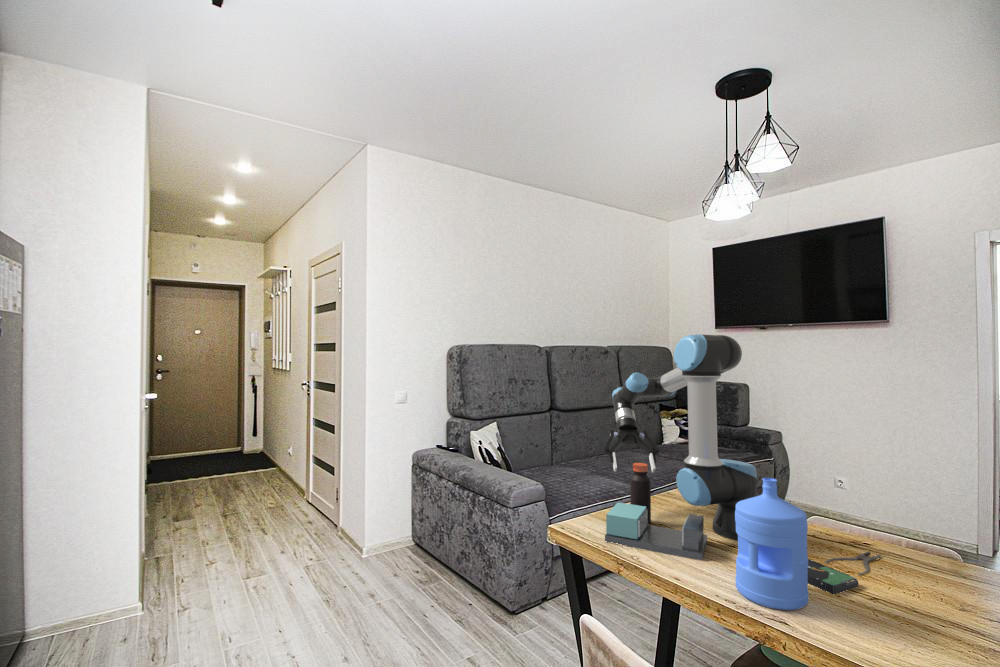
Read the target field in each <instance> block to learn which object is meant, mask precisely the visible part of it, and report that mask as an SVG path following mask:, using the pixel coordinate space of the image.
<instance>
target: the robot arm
mask: <svg viewBox="0 0 1000 667" xmlns="http://www.w3.org/2000/svg"><path fill="white" fill-rule="evenodd" d="M742 356H743V351H742V348H741V345H740V343H739V342H738V341H737V340H735V338H733V337H731V336H728V335H723V334H718V335H717V334H698V333H697V334H689V335H684V336H683V337H682V338H680V340H679V342H677V344H676V345H675V348H674V351H673V360H674V363H675V365H676V368H674V369H672V370H669V372H666V373H664V374H662V375H660V376H658V377H647V376H646V375H645V374H644V373H640V372H633V373H632V374H631V375H629V377H628V378H627V379H626V381H625V383H624V384H623V385H622V386H619V387H617V388H616V389H614V390H613V391H612V393H611V394H612V404H613V410H614V415H615V423H616V429H617V432H616V431H614V430H613V429H612V430H610V434H609V438H608V440H607V442H606V444H605V447H604V449H603V454H604V455H608V458H609V463H610V464H611V463H612V468H613V472H614V473H616V472H617V470H618V465H617V458H616V452H617V450H618V449H619V448H620V447H621V445H623V444H625V445H627V444H628V445H629V444H631V445H634V444H635V445H636V446H638V447H640V448H641V449H642V450H643V451H644V452H645V453H647V454H648V455H649V456H648V458H649V459H648V460H649V465H650V469H651V473H652V474H653V473H655V472H656V463H657V457H656V456H659V455H660V448H659V447H657V445H656V443H655V442H654V441H653V440H652V439H651V438H650V436H649V435H648V432H647V431H646V430H644V431H643V432H639V429H638V424H637V420H636V419H637V418H636V414H635V409H634V405H635V403H636V402H638V399H639V398H651V397H653V398H655V397H656V398H657V397H663V398H665V397H672V396H674V395H675V394H676V393H677V391H678V390H680V389H682V388H684V387H686V388H687V422H688V423H687V424H688V426H687V427H688V428H687V429H688V431H687V432H688V434H687V435H688V456H686V457H685V459H684V460H683V468H681V469H680V470H678V473H677V474H676V478H675V479H676V480H675V481H676V486H677V489H678V492H679V494H680V495H681V497H682V498H683V499H684V500H685V501H686V502H687V503H688V504H689V505H691V506H695V507H701V506H703V507H707V506H713V505H717V508H716V511H715V513H714V516H713V519H712V522H711V523H712V526H711V527H712V531H713V532H714V533H715V534H717V535H718V536H721V537H724V538H727V539H731V540H736V541H738V534H737V533H736V522H735V510H736V504H737V503H738V502H739V501H742V500H745V499H749V498H752V497H756V496H758V475H757V468H756V467H755V466H754V465H753V464H751V463H748V462H746V461H745V462H744V461H739V460H734V459H728V458H727V459H725V458H719V455H718V452H719V451H718V419H717V417H718V415H717V381H718V380H719V379H720V378H722V374H724V373H726V372H729V371H731V370H733V369H735V368H736V367H737V366H738V365H739V364H740V363H741V361H742V360H741V359H742ZM616 437H617V438H618V440H617V441H616V442H615V443H614V444H613V445H612V443H613V441H614V439H615V438H616ZM643 440H644V441H643ZM611 445H612V446H611ZM610 447H611V448H610Z"/></svg>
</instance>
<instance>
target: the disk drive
mask: <svg viewBox="0 0 1000 667" xmlns="http://www.w3.org/2000/svg"><path fill="white" fill-rule="evenodd" d="M808 585H810V586H812V585H813V587H814V588H817V587H818V588H817V589H819V588H820V589H819V590H821V589H822V590H821V591H823V590H825V591H824V592H826V591H827V592H826V593H828V592H829V594H830V593H831V594H830V595H833V594H835V595H837V593H838V594H841V593H840V592H842V593H844V592H843V591H845V592H847V591H846V590H848V591H850V590H849V589H851V590H854V589H857V588H859V580H858V579H857V578H856V577H854V576H852V575H850V574H848V573H846V572H842V571H840V570H837V569H835V568H833V567H829V566H828V565H826V564H822V563H820V562H817V561H814V560H812V559H809V558H808ZM856 587H857V588H856ZM853 588H854V589H853Z"/></svg>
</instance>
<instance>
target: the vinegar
mask: <svg viewBox="0 0 1000 667" xmlns="http://www.w3.org/2000/svg"><path fill="white" fill-rule="evenodd" d="M648 466H649V465H648V464H647V463H645V462H633V463H632V471H633V475H632V476H631V477H630V479H629V480H630V482H629V483H630V484H629V485H630V486H629V489H630V494H629V495H630V496H629V499H630V502H629V504H632V505H639V506H645V507H646V509H648V525H651V524H652V523H651V521H652V513H651V512H652V511H651V510H652V506H651V505H652V504H651V503H652V502H651V501H652V500H651V499H652V498H651V496H652V494H651V493H652V492H651V491H652V488H651V487H652V486H651V483H652V481H651V480H652V479H651V478H650V477H649V476H648V472H649V470H648V469H649V467H648Z"/></svg>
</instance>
